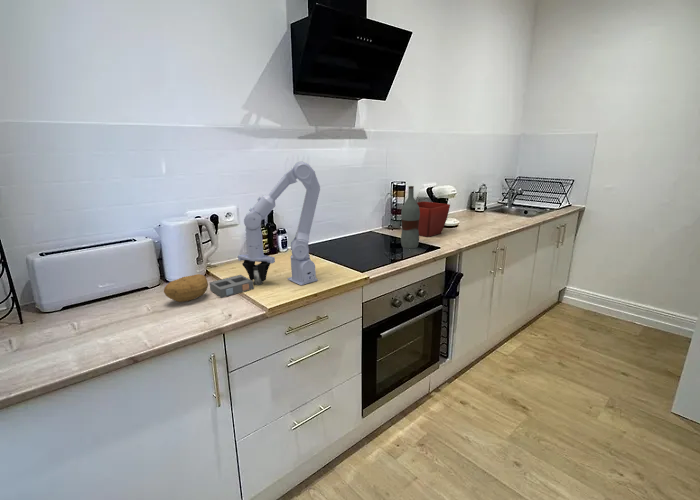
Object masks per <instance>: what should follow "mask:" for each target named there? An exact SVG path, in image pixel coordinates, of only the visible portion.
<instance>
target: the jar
mask: <svg viewBox="0 0 700 500" xmlns="http://www.w3.org/2000/svg"><path fill="white" fill-rule="evenodd" d="M258 264H259V263H257V264H255V265H253V266H252V269H253V274H254V279H253V285H255V286H259V285H262V284H263V283H264V281H261V274H260V270H259V267H258Z"/></svg>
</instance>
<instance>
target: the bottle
mask: <svg viewBox="0 0 700 500" xmlns="http://www.w3.org/2000/svg"><path fill="white" fill-rule="evenodd" d="M407 187H408V190H407V191H408V193H407V194H408V195H407V196H408V197H407V199H406V200H405V202H404V203H403V205H402V207H401V212H400V216H401V217H400V218H401V233H400V244H401V248H404V249H409V250H410V249H417V248H418V246H419V243H420V235H419V231H418V227H419V218H420V209H419V206H418V204H417V201H416V199H415V197H414V193H415V191H414V190H415V186H414V185H408V186H407Z"/></svg>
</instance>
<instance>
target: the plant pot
mask: <svg viewBox="0 0 700 500" xmlns="http://www.w3.org/2000/svg"><path fill="white" fill-rule="evenodd" d="M416 202H417V201H416ZM417 204H418V206H419V209H420V218H419V227H418V231H419V237H420V236H421V237H426V238H429V237H434V236H437V235H439V234H442V233H443V232H442V231H444V227H445V225H446V222H447V220H448V215H449V212H450V207H451V204H449V203H441V202H440V203H439V202H433V201H418V202H417Z"/></svg>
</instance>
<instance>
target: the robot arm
mask: <svg viewBox="0 0 700 500" xmlns="http://www.w3.org/2000/svg"><path fill="white" fill-rule="evenodd" d="M297 180H298V181H299V182H301V183H302V185H303V186H304V188H305V190H306V192H305V196H304V200H303V204H302V208H301V212H300V217H299V222H298V226H297V230H296V232H295V235H294V236H295V237H294V238H293V239H292V241H291V242H290V249H291V256H290V266H291V267H290V270H291V272H290V273H291V277H287V278H286V279H287V280H288V281H290V282H292V283H295V284H297V285H299V286H305V285H307V284H311V283H315V282H317V281H319V279H318V278H317V277H316V276H317V275H316V274H317V273H316V264H315V262H314V261H313V260H311V256H310V254H309V253H310V249H309V242H310V233H311V230H312V225H313V221H314V217H315V213H316V208H317V204H318V201H319V196H320V192H321V186H320V183H319V181H318V177H317V175H316V171H315V170H314V168H313V167H312V166H311V165H310V164H309V163H307V162H305V161H298V162H296V163H295V164H294V165H293V167H291V168H290V169H288V170H287V171H286V172H285V173H284V174H283V175H282V177H281V178H280V179H279V181H278V182H277V183H276V184H275V186H274V187H273V188H272V190H271V191H270V192H269V193H268V194H265V195H263V194H262V196H259V197H257V202H255V204H254V205H253V206H252V207H250V208H249V212H247V213H246V215H245V216H244V219H243V224H244V226H245V239H246V241H245V242H246V248H247V249H246V250H247V254H242V253H241V254H239V255H237V259H238V260H237V261H241V262H242V261H243V262H242V263H241V264H242V266H243V268H244V269H245V270H246V273H247V275H248V277H249V278H248V279H250V280H252V281H254V274H253V269H252V266H253V265H256V262H257V264H258V267H259V270H260V274H261V281H262V282H265V281H266V280H267V275H268V271H269V269H270V266H271V264H272V265H273V264H275V263H276V259H275V258H276V257H275V256H271V255H265V254H264V241H263V232H262V227H261V225H262V221H263V220H266V218H267V216H268V215H269V214H270V213H271V212H272V211H273V209H274V208H275V207H276V200H277V199H278V198H279V197H280V196H281V195H282V194H283V192H284V191H285V190H286V189H287V188H288V187H289V186H290V185H293V184H296V183H298V181H297Z"/></svg>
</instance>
